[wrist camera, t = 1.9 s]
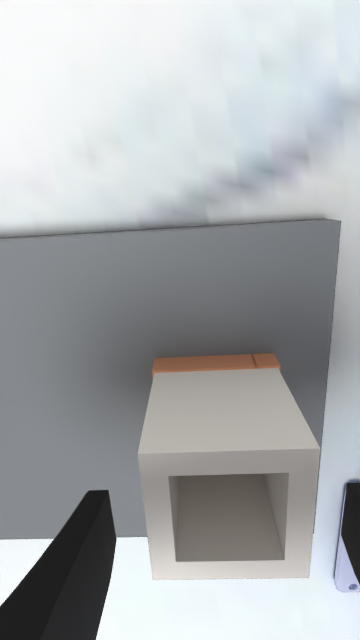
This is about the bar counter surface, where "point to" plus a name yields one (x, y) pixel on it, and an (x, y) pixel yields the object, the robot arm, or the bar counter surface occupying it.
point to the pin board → (141, 347)
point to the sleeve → (226, 471)
